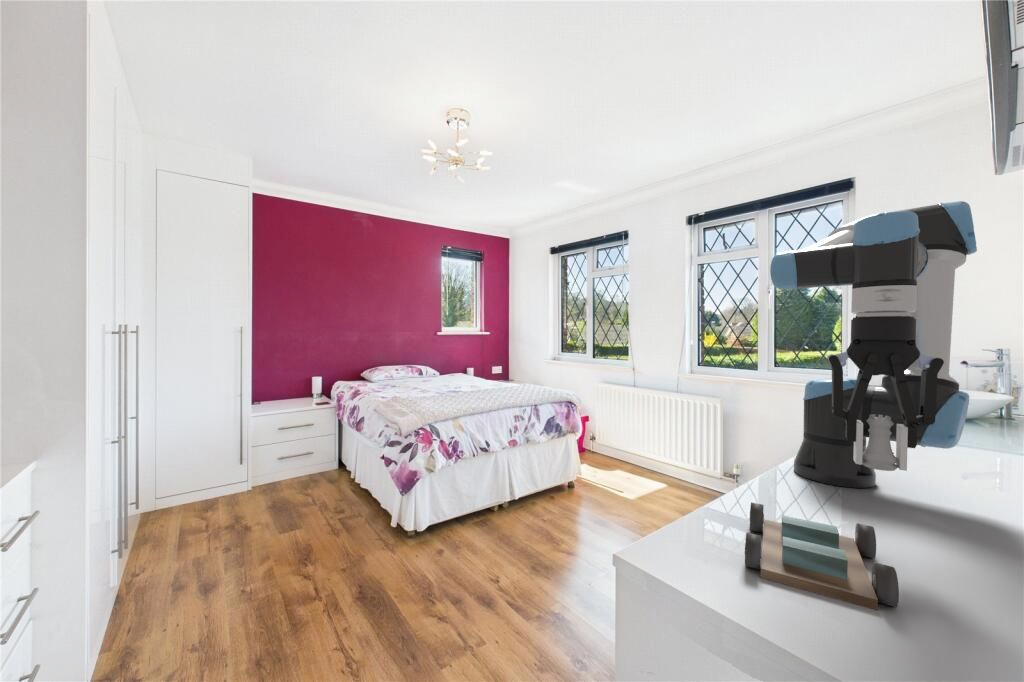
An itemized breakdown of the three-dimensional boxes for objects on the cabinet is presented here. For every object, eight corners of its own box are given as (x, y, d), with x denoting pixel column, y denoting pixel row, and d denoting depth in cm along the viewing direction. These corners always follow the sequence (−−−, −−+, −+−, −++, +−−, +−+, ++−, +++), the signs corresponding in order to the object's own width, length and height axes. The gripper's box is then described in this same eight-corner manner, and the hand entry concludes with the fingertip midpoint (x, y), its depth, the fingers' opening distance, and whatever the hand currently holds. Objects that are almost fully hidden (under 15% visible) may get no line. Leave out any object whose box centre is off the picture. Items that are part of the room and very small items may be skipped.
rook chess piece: (905, 472, 62) (907, 419, 62) (871, 470, 63) (872, 418, 63) (885, 463, 67) (886, 413, 66) (853, 461, 67) (854, 412, 67)
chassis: (750, 523, 72) (751, 498, 72) (870, 549, 64) (871, 521, 63) (743, 572, 57) (744, 540, 57) (900, 616, 48) (901, 579, 48)
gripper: (814, 315, 66) (811, 461, 66) (973, 313, 56) (968, 483, 57) (811, 317, 72) (808, 450, 73) (953, 315, 63) (949, 468, 63)
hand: (878, 464), depth 65 cm, fingers closed on rook chess piece, 4 cm apart
